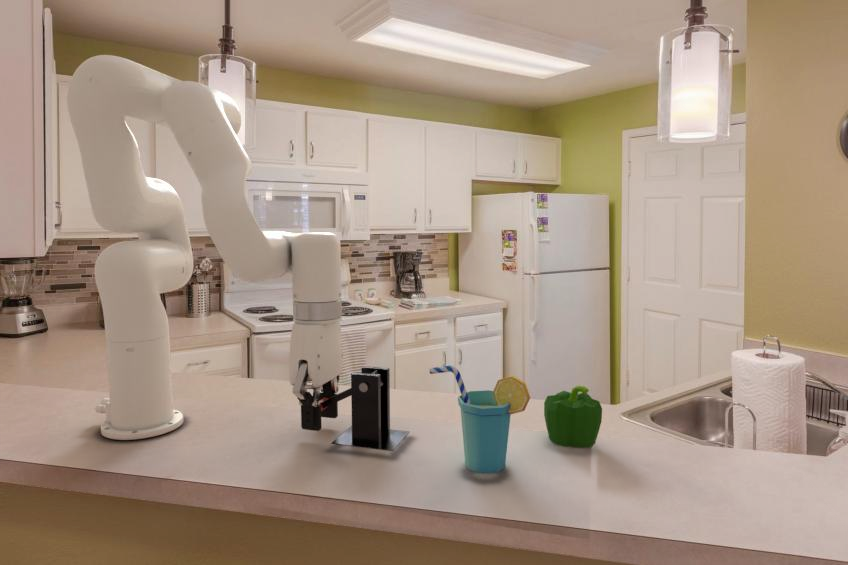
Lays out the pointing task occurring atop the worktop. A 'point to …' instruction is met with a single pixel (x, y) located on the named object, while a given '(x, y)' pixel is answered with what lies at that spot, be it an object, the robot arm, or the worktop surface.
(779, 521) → the worktop surface
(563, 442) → the bell pepper
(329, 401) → the lever
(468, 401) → the cup
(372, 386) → the bracket
